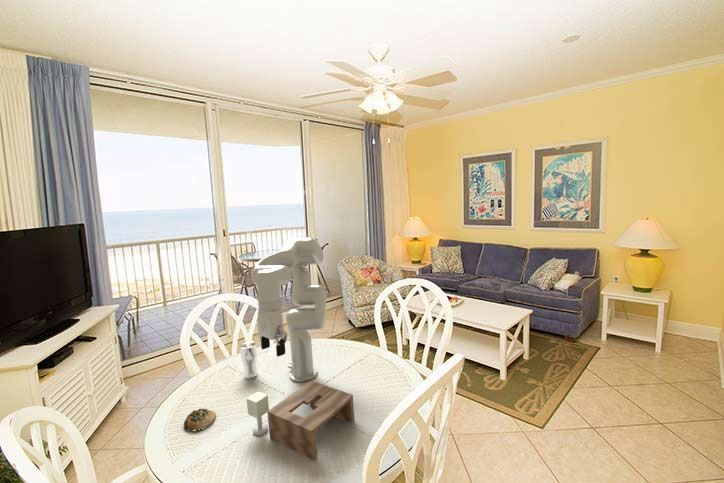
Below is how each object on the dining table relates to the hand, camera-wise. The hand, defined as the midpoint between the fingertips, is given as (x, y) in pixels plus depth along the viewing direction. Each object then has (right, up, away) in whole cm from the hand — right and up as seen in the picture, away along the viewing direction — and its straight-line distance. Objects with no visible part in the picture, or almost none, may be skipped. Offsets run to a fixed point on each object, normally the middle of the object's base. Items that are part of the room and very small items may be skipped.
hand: (273, 351), depth 122 cm
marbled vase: (-20, -24, +39) cm, 50 cm away
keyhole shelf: (+14, -27, -1) cm, 31 cm away
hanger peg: (-4, -28, 0) cm, 28 cm away
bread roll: (-29, -29, +6) cm, 41 cm away
